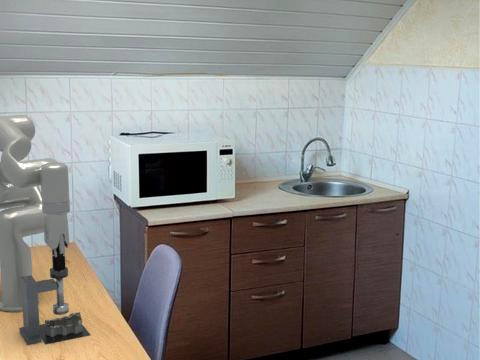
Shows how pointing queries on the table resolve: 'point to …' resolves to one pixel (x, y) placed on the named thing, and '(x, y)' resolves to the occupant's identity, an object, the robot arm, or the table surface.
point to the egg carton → (64, 325)
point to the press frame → (31, 313)
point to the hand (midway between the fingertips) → (59, 269)
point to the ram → (60, 291)
